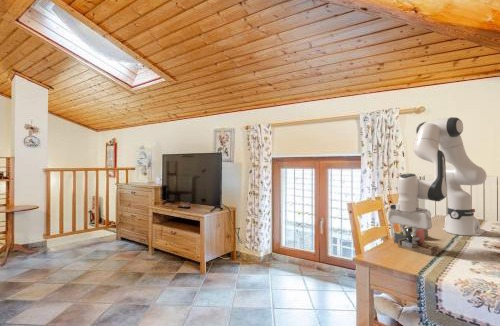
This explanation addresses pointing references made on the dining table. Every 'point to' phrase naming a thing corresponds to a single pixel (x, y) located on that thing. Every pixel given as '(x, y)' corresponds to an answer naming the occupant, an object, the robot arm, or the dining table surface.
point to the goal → (400, 235)
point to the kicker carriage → (413, 238)
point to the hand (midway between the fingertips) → (409, 234)
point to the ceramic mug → (424, 232)
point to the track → (419, 248)
